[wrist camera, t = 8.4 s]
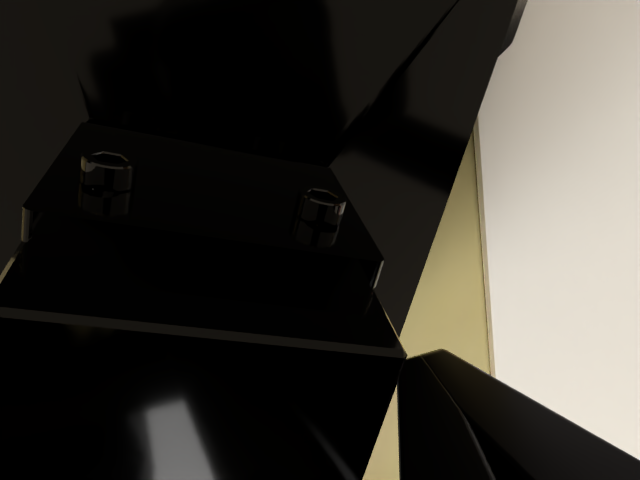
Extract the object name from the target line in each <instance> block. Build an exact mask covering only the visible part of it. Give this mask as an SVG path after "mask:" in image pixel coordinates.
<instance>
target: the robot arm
mask: <svg viewBox="0 0 640 480" xmlns="http://www.w3.org/2000/svg"><path fill="white" fill-rule="evenodd" d="M397 402H398V437H399V472H400V480H640V460H639V459H637V458H635V457H633V456H632V455H630V454H628V453H626V452H625V451H623V450H621V449H619V448H618V447H616V446H614V445H612V444H611V443H609V442H607V441H605V440H604V439H602V438H600V437H598V436H596V435H595V434H593V433H591V432H589V431H588V430H586V429H584V428H582V427H581V426H579V425H577V424H575V423H574V422H572V421H570V420H568V419H567V418H565V417H563V416H561V415H560V414H558V413H556V412H554V411H552V410H551V409H549V408H547V407H545V406H544V405H542V404H540V403H538V402H537V401H535V400H533V399H531V398H530V397H528V396H526V395H524V394H523V393H521V392H519V391H517V390H516V389H514V388H512V387H510V386H509V385H507V384H505V383H503V382H501V381H500V380H498V379H496V378H494V377H493V376H491V375H489V374H487V373H486V372H484V371H482V370H480V369H479V368H477V367H475V366H473V365H472V364H470V363H468V362H466V361H465V360H463V359H461V358H459V357H457V356H456V355H454V354H452V353H450V352H449V351H447V350H444V349H438V350H434V351H431V352H428V353H424V354H421V355H418V356H414V357H411V358H407V359H406V360H405V363H404V366H403V369H402V371H401V374H400V377H399V380H398V382H397Z"/></svg>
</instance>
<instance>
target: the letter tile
mask: <svg viewBox="0 0 640 480" xmlns="http://www.w3.org/2000/svg"><path fill="white" fill-rule="evenodd" d="M473 131H474V145H475V159H476V173H477V187H478V201H479V215H480V229H481V243H482V257H483V271H484V285H485V299H486V313H487V327H488V341H489V355H490V369H491V376H493V377H494V378H496V379H498V380H500V381H501V382H503V383H505V384H507V385H509V386H510V387H512V388H514V389H516V390H517V391H519V392H521V393H523V394H524V395H526V396H528V397H530V398H531V399H533V400H535V401H537V402H538V403H540V404H542V405H544V406H545V407H547V408H549V409H551V410H552V411H554V412H556V413H558V414H560V415H561V416H563V417H565V418H567V419H568V420H570V421H572V422H574V423H575V424H577V425H579V426H581V427H582V428H584V429H586V430H588V431H589V432H591V433H593V434H595V435H596V436H598V437H600V438H602V439H604V440H605V441H607V442H609V443H611V444H612V445H614V446H616V447H618V448H619V449H621V450H623V451H625V452H626V453H628V454H630V455H632V456H633V457H635V458H637V459H639V460H640V0H528V1H527V4H526V6H525V9H524V12H523V15H522V18H521V20H520V23H519V26H518V29H517V32H516V34H515V37H514V40H513V42H512V44H511V45H510V46H509V47H508V48H507V49H506V50H505V51H504V52H503V53H502V54H501V55H500V56H499V57H498V59H497V61H496V64H495V67H494V70H493V73H492V76H491V78H490V81H489V84H488V87H487V90H486V93H485V95H484V98H483V101H482V104H481V107H480V110H479V112H478V115H477V118H476V121H475V124H474V127H473Z"/></svg>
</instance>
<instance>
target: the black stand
mask: <svg viewBox="0 0 640 480" xmlns="http://www.w3.org/2000/svg"><path fill="white" fill-rule="evenodd" d="M527 1H528V0H0V480H362V479H363V476H364V473H365V470H366V468H367V465H368V462H369V459H370V457H371V454H372V451H373V448H374V446H375V443H376V440H377V437H378V435H379V432H380V429H381V426H382V424H383V421H384V418H385V415H386V413H387V410H388V407H389V404H390V402H391V399H392V396H393V393H394V391H395V388H396V385H397V382H398V380H399V377H400V374H401V371H402V369H403V366H404V363H405V360H406V358H407V353H406V351H405V349H404V347H403V345H402V343H401V341H400V340H399V337H400V334H401V331H402V328H403V325H404V322H405V320H406V317H407V314H408V311H409V308H410V305H411V303H412V300H413V297H414V294H415V291H416V288H417V286H418V283H419V280H420V277H421V274H422V271H423V269H424V266H425V263H426V260H427V257H428V254H429V251H430V249H431V246H432V243H433V240H434V237H435V234H436V232H437V229H438V226H439V223H440V220H441V217H442V215H443V212H444V209H445V206H446V203H447V200H448V198H449V195H450V192H451V189H452V186H453V183H454V181H455V178H456V175H457V172H458V169H459V166H460V164H461V161H462V158H463V155H464V152H465V149H466V147H467V144H468V141H469V138H470V135H471V132H472V129H473V127H474V124H475V121H476V118H477V115H478V112H479V110H480V107H481V104H482V101H483V98H484V95H485V93H486V90H487V87H488V84H489V81H490V78H491V76H492V73H493V70H494V67H495V64H496V61H497V59H498V57H499V56H500V55H501V54H502V53H503V52H504V51H505V50H506V49H507V48H508V47H509V46H510V45H511V44H512V42H513V40H514V37H515V34H516V32H517V29H518V26H519V23H520V20H521V18H522V15H523V12H524V9H525V6H526V4H527Z"/></svg>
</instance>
